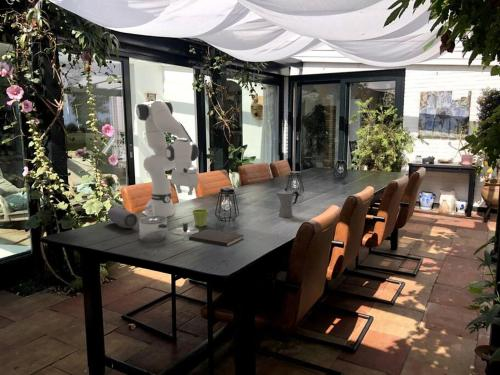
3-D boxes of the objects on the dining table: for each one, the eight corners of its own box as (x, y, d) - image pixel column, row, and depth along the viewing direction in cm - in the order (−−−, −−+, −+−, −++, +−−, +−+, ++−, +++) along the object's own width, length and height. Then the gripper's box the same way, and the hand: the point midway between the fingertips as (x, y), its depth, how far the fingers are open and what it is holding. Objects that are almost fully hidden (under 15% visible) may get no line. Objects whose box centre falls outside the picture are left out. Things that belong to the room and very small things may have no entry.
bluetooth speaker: (139, 228, 228) (138, 211, 226) (123, 231, 222) (122, 213, 220) (122, 221, 245) (121, 205, 243) (106, 223, 239) (105, 207, 237)
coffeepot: (278, 218, 253) (278, 189, 250) (273, 214, 262) (273, 187, 259) (301, 216, 257) (301, 188, 254) (295, 213, 266) (295, 186, 263)
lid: (166, 232, 222) (166, 223, 221) (188, 226, 233) (187, 218, 232) (182, 237, 212) (182, 228, 211) (204, 231, 222) (204, 223, 222)
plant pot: (193, 228, 229) (193, 213, 228) (191, 223, 238) (191, 209, 237) (210, 226, 232) (209, 212, 230) (207, 222, 241) (207, 208, 239)
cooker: (130, 236, 212) (129, 217, 210) (154, 231, 222) (153, 213, 221) (153, 244, 198) (152, 224, 196) (177, 238, 208) (176, 219, 207)
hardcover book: (207, 233, 221) (207, 229, 220) (243, 239, 210) (243, 234, 209) (188, 240, 207) (188, 236, 207) (227, 247, 196) (227, 242, 195)
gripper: (167, 167, 222) (168, 192, 224) (190, 170, 208) (191, 196, 210) (177, 166, 227) (178, 191, 229) (200, 169, 212) (201, 195, 214)
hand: (184, 194), depth 219 cm, fingers open, 8 cm apart
